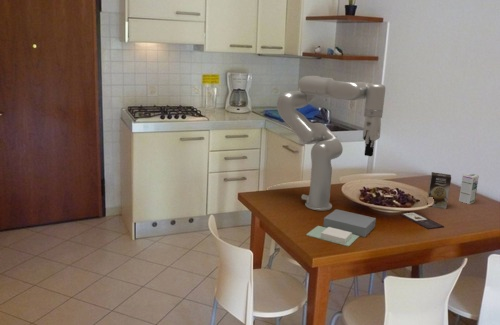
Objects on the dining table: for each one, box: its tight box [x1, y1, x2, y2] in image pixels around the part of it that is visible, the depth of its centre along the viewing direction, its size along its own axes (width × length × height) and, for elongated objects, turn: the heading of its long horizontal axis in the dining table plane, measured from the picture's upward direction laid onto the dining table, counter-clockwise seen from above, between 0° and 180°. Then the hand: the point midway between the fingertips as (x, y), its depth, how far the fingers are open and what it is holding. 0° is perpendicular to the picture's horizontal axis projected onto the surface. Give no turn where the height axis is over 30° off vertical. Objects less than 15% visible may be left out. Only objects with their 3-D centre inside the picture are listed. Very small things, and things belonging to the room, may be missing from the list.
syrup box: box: [458, 172, 480, 205], centre depth 246 cm, size 6×6×14 cm
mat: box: [305, 225, 360, 248], centre depth 195 cm, size 18×12×1 cm, turn 59°
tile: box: [321, 227, 352, 244], centre depth 193 cm, size 10×8×2 cm
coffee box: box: [427, 171, 452, 210], centre depth 237 cm, size 9×6×16 cm
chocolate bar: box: [400, 212, 445, 230], centre depth 217 cm, size 9×1×18 cm
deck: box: [322, 208, 377, 238], centre depth 205 cm, size 18×14×4 cm
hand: (368, 155), depth 209 cm, fingers closed
